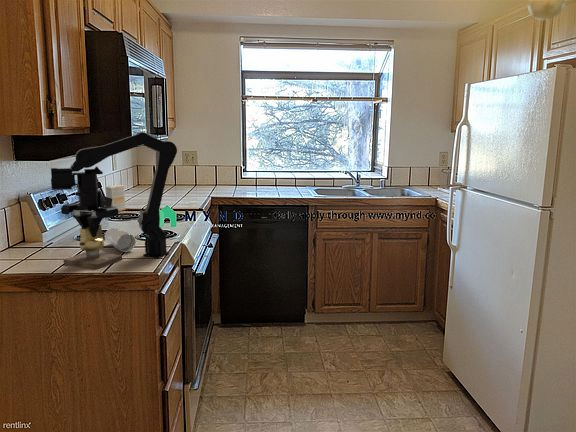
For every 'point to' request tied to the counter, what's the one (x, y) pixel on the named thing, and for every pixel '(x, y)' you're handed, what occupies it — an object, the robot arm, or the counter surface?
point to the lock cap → (91, 239)
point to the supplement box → (116, 196)
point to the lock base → (93, 259)
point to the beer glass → (120, 239)
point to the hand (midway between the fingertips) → (91, 236)
